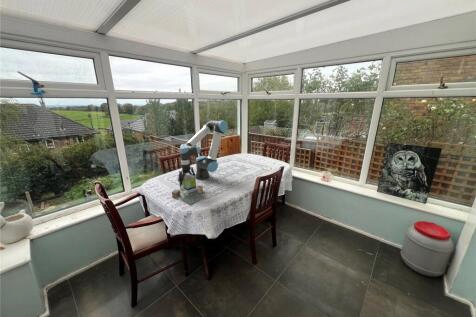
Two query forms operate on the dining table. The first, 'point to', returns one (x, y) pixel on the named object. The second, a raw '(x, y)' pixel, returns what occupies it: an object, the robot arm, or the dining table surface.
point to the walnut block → (176, 193)
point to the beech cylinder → (200, 189)
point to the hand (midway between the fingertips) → (187, 185)
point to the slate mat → (192, 198)
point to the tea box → (189, 183)
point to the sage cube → (185, 193)
